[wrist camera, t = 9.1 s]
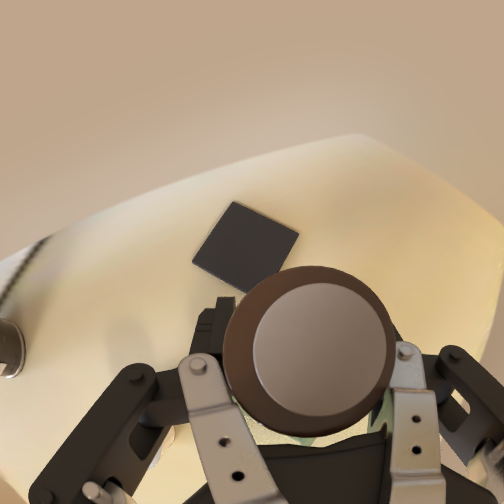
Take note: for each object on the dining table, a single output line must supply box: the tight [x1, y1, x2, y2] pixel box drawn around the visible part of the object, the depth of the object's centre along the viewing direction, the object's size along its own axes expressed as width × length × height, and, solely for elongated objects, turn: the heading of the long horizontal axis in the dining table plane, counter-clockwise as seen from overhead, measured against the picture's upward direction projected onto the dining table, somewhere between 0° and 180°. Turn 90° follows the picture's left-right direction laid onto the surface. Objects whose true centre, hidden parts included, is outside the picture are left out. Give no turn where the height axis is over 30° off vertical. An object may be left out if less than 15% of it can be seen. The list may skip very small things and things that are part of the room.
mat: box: [192, 202, 299, 294], centre depth 37 cm, size 10×10×1 cm
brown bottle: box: [223, 266, 396, 438], centre depth 11 cm, size 5×5×10 cm
